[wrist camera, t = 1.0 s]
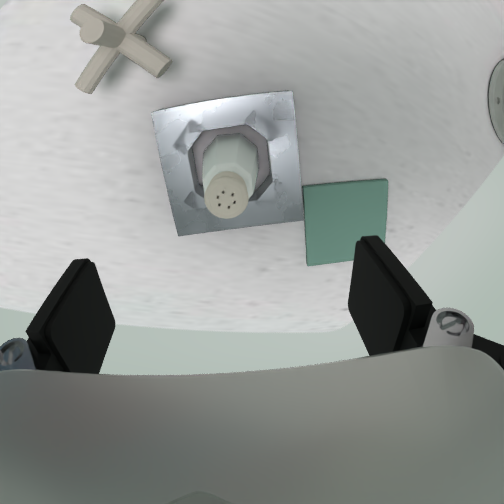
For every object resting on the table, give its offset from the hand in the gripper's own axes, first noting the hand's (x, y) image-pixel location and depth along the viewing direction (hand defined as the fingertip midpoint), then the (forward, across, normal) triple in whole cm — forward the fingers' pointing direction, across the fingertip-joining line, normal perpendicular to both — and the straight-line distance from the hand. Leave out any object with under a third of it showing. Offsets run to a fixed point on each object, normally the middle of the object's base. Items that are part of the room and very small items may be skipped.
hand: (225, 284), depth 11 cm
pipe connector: (+21, +8, -12) cm, 26 cm away
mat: (+20, -12, +8) cm, 25 cm away
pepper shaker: (+21, 0, 0) cm, 21 cm away
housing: (+21, 0, 0) cm, 21 cm away
